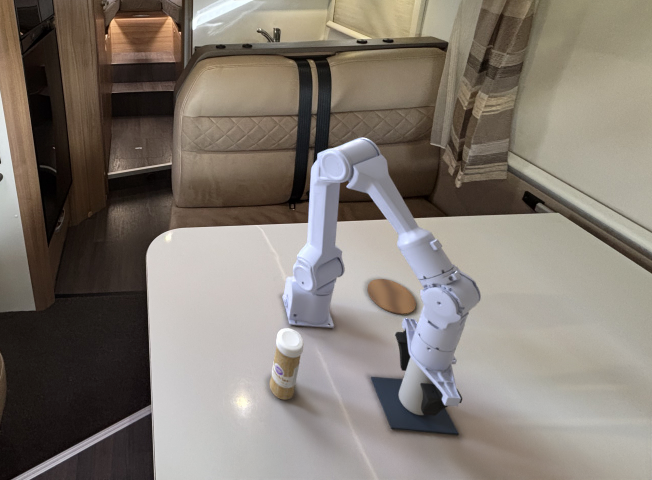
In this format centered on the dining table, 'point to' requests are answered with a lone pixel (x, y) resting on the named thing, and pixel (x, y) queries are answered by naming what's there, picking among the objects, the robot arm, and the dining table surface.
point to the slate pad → (403, 417)
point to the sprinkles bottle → (286, 363)
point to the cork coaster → (391, 296)
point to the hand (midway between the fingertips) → (417, 390)
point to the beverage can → (413, 388)
